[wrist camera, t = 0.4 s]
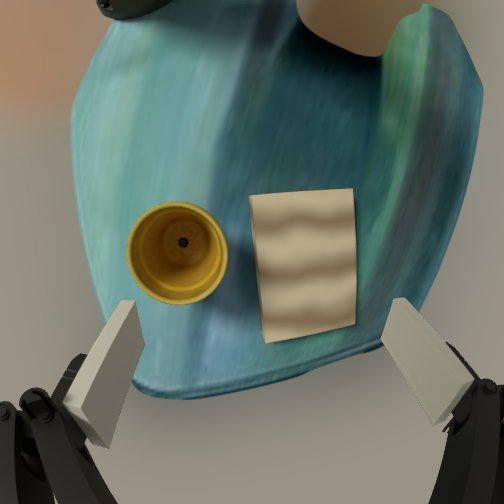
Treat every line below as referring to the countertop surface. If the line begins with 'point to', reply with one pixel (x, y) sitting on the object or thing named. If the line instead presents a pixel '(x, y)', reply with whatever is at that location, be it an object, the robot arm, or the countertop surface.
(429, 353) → the robot arm
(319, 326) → the birch stand
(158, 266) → the plant pot
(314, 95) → the countertop surface
